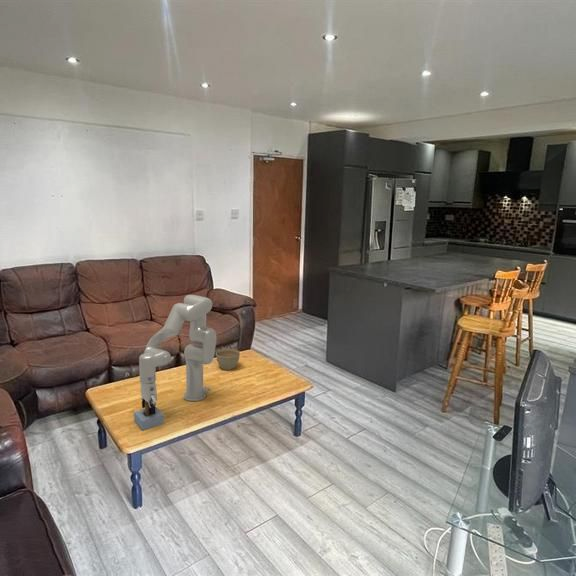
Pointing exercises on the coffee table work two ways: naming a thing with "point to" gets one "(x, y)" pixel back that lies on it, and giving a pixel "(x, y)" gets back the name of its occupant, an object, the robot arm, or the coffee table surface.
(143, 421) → the socket block
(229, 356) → the planter bowl
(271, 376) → the coffee table surface
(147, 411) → the peg
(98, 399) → the coffee table surface
